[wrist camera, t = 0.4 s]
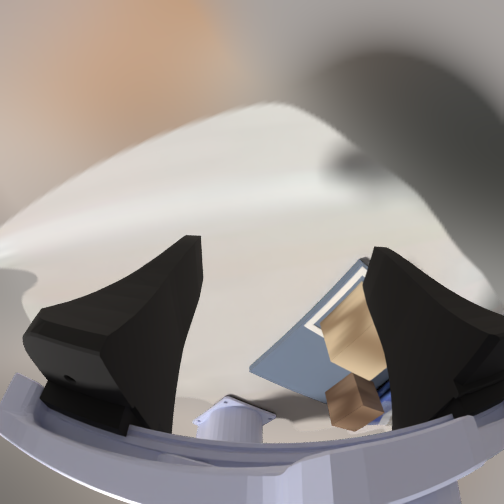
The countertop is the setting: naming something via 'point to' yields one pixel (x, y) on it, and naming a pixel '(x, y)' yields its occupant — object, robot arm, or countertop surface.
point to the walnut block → (353, 402)
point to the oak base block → (354, 337)
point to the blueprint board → (311, 348)
